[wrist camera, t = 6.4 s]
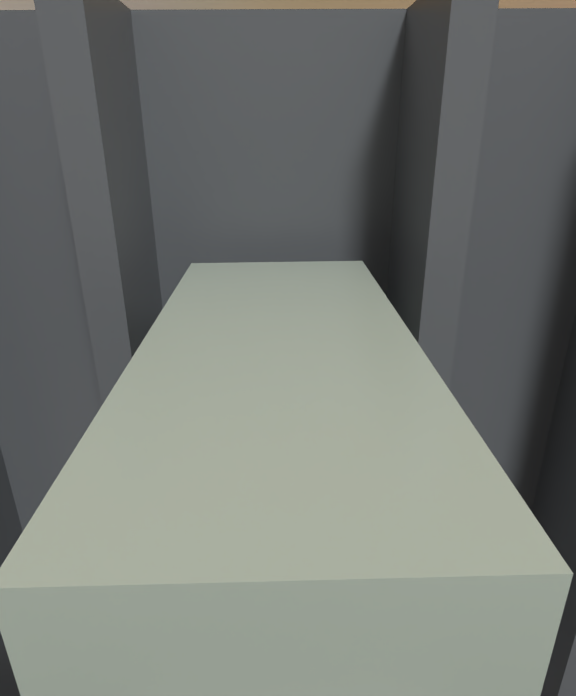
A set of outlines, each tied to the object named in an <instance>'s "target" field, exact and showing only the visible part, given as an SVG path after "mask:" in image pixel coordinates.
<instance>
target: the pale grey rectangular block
mask: <svg viewBox="0 0 576 696" xmlns="http://www.w3.org/2000/svg"><path fill="white" fill-rule="evenodd" d="M572 577H573V572H572V571H571V569H570V568H569V566H568V565H567V564H566V562H565V561H564V559H563V558H562V556H561V555H560V553H559V552H558V550H557V549H556V547H555V546H554V544H553V543H552V541H551V540H550V538H549V537H548V535H547V534H546V532H545V531H544V529H543V528H542V526H541V525H540V523H539V522H538V521H537V519H536V518H535V516H534V515H533V513H532V512H531V510H530V509H529V507H528V506H527V504H526V503H525V501H524V500H523V498H522V497H521V495H520V494H519V492H518V491H517V489H516V488H515V486H514V485H513V483H512V482H511V480H510V479H509V478H508V476H507V475H506V473H505V472H504V470H503V469H502V467H501V466H500V464H499V463H498V461H497V460H496V458H495V457H494V455H493V454H492V452H491V451H490V449H489V448H488V446H487V445H486V443H485V442H484V440H483V439H482V437H481V436H480V435H479V433H478V432H477V430H476V429H475V427H474V426H473V424H472V423H471V421H470V420H469V418H468V417H467V415H466V414H465V412H464V411H463V409H462V408H461V406H460V405H459V403H458V402H457V400H456V399H455V397H454V396H453V394H452V393H451V392H450V390H449V389H448V387H447V386H446V384H445V383H444V381H443V380H442V378H441V377H440V375H439V374H438V372H437V371H436V369H435V368H434V366H433V365H432V363H431V362H430V360H429V359H428V357H427V356H426V354H425V353H424V351H423V350H422V349H421V347H420V346H419V344H418V343H417V341H416V340H415V338H414V337H413V335H412V334H411V332H410V331H409V329H408V328H407V326H406V325H405V323H404V322H403V320H402V319H401V317H400V316H399V314H398V313H397V311H396V310H395V308H394V307H393V306H392V304H391V303H390V301H389V300H388V298H387V297H386V295H385V294H384V292H383V291H382V289H381V288H380V286H379V285H378V283H377V282H376V280H375V279H374V277H373V276H372V274H371V273H370V271H369V270H368V268H367V267H366V265H365V264H364V263H363V261H311V262H239V263H191V265H190V266H189V268H188V269H187V271H186V273H185V274H184V276H183V277H182V279H181V281H180V282H179V284H178V285H177V287H176V289H175V290H174V292H173V293H172V295H171V296H170V298H169V300H168V301H167V303H166V304H165V306H164V308H163V309H162V311H161V312H160V314H159V316H158V317H157V319H156V320H155V322H154V324H153V325H152V327H151V328H150V330H149V331H148V333H147V335H146V336H145V338H144V339H143V341H142V343H141V344H140V346H139V347H138V349H137V351H136V352H135V354H134V355H133V357H132V359H131V360H130V362H129V363H128V365H127V367H126V368H125V370H124V371H123V373H122V374H121V376H120V378H119V379H118V381H117V382H116V384H115V386H114V387H113V389H112V390H111V392H110V394H109V395H108V397H107V398H106V400H105V402H104V403H103V405H102V406H101V408H100V410H99V411H98V413H97V414H96V416H95V417H94V419H93V421H92V422H91V424H90V425H89V427H88V429H87V430H86V432H85V433H84V435H83V437H82V438H81V440H80V441H79V443H78V445H77V446H76V448H75V449H74V451H73V453H72V454H71V456H70V457H69V459H68V460H67V462H66V464H65V465H64V467H63V468H62V470H61V472H60V473H59V475H58V476H57V478H56V480H55V481H54V483H53V484H52V486H51V488H50V489H49V491H48V492H47V494H46V495H45V497H44V499H43V500H42V502H41V503H40V505H39V507H38V508H37V510H36V511H35V513H34V515H33V516H32V518H31V519H30V521H29V523H28V524H27V526H26V527H25V529H24V531H23V532H22V534H21V535H20V537H19V538H18V540H17V542H16V543H15V545H14V546H13V548H12V550H11V551H10V553H9V554H8V556H7V558H6V559H5V561H4V562H3V564H2V566H1V567H0V632H1V635H2V638H3V641H4V645H5V648H6V651H7V654H8V657H9V661H10V664H11V667H12V670H13V673H14V676H15V680H16V683H17V686H18V689H19V692H20V696H540V695H541V692H542V688H543V684H544V681H545V677H546V673H547V669H548V666H549V662H550V658H551V655H552V651H553V647H554V644H555V640H556V636H557V632H558V629H559V625H560V621H561V618H562V614H563V610H564V607H565V603H566V599H567V595H568V592H569V588H570V584H571V581H572Z"/></svg>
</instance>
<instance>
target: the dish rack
mask: <svg viewBox="0 0 576 696" xmlns="http://www.w3.org/2000/svg"><path fill="white" fill-rule="evenodd" d="M34 3H35V9H36V10H0V567H1V566H2V564H3V562H4V561H5V559H6V558H7V556H8V554H9V553H10V551H11V550H12V548H13V546H14V545H15V543H16V542H17V540H18V538H19V537H20V535H21V534H22V532H23V531H24V529H25V527H26V526H27V524H28V523H29V521H30V519H31V518H32V516H33V515H34V513H35V511H36V510H37V508H38V507H39V505H40V503H41V502H42V500H43V499H44V497H45V495H46V494H47V492H48V491H49V489H50V488H51V486H52V484H53V483H54V481H55V480H56V478H57V476H58V475H59V473H60V472H61V470H62V468H63V467H64V465H65V464H66V462H67V460H68V459H69V457H70V456H71V454H72V453H73V451H74V449H75V448H76V446H77V445H78V443H79V441H80V440H81V438H82V437H83V435H84V433H85V432H86V430H87V429H88V427H89V425H90V424H91V422H92V421H93V419H94V417H95V416H96V414H97V413H98V411H99V410H100V408H101V406H102V405H103V403H104V402H105V400H106V398H107V397H108V395H109V394H110V392H111V390H112V389H113V387H114V386H115V384H116V382H117V381H118V379H119V378H120V376H121V374H122V373H123V371H124V370H125V368H126V367H127V365H128V363H129V362H130V360H131V359H132V357H133V355H134V354H135V352H136V351H137V349H138V347H139V346H140V344H141V343H142V341H143V339H144V338H145V336H146V335H147V333H148V331H149V330H150V328H151V327H152V325H153V324H154V322H155V320H156V319H157V317H158V316H159V314H160V312H161V311H162V309H163V308H164V306H165V304H166V303H167V301H168V300H169V298H170V296H171V295H172V293H173V292H174V290H175V289H176V287H177V285H178V284H179V282H180V281H181V279H182V277H183V276H184V274H185V273H186V271H187V269H188V268H189V266H190V265H191V263H239V262H311V261H363V263H364V264H365V265H366V267H367V268H368V270H369V271H370V273H371V274H372V276H373V277H374V279H375V280H376V282H377V283H378V285H379V286H380V288H381V289H382V291H383V292H384V294H385V295H386V297H387V298H388V300H389V301H390V303H391V304H392V306H393V307H394V308H395V310H396V311H397V313H398V314H399V316H400V317H401V319H402V320H403V322H404V323H405V325H406V326H407V328H408V329H409V331H410V332H411V334H412V335H413V337H414V338H415V340H416V341H417V343H418V344H419V346H420V347H421V349H422V350H423V351H424V353H425V354H426V356H427V357H428V359H429V360H430V362H431V363H432V365H433V366H434V368H435V369H436V371H437V372H438V374H439V375H440V377H441V378H442V380H443V381H444V383H445V384H446V386H447V387H448V389H449V390H450V392H451V393H452V394H453V396H454V397H455V399H456V400H457V402H458V403H459V405H460V406H461V408H462V409H463V411H464V412H465V414H466V415H467V417H468V418H469V420H470V421H471V423H472V424H473V426H474V427H475V429H476V430H477V432H478V433H479V435H480V436H481V437H482V439H483V440H484V442H485V443H486V445H487V446H488V448H489V449H490V451H491V452H492V454H493V455H494V457H495V458H496V460H497V461H498V463H499V464H500V466H501V467H502V469H503V470H504V472H505V473H506V475H507V476H508V478H509V479H510V480H511V482H512V483H513V485H514V486H515V488H516V489H517V491H518V492H519V494H520V495H521V497H522V498H523V500H524V501H525V503H526V504H527V506H528V507H529V509H530V510H531V512H532V513H533V515H534V516H535V518H536V519H537V521H538V522H539V523H540V525H541V526H542V528H543V529H544V531H545V532H546V534H547V535H548V537H549V538H550V540H551V541H552V543H553V544H554V546H555V547H556V549H557V550H558V552H559V553H560V555H561V556H562V558H563V559H564V561H565V562H566V564H567V565H568V566H569V568H570V569H571V571H572V572H573V577H572V581H571V584H570V588H569V592H568V595H567V599H566V603H565V607H564V610H563V614H562V618H561V621H560V625H559V629H558V632H557V636H556V640H555V644H554V647H553V651H552V655H551V658H550V662H549V666H548V669H547V673H546V677H545V681H544V684H543V688H542V692H541V695H540V696H576V8H527V9H498V4H499V0H416V1H415V2H414V3H413V4H412V5H411V6H410V7H409V8H407V9H236V10H130V9H129V8H128V7H127V6H125V5H124V4H123V3H122V2H120V1H119V0H34ZM0 696H20V692H19V689H18V686H17V683H16V680H15V676H14V673H13V670H12V667H11V664H10V661H9V657H8V654H7V651H6V648H5V645H4V641H3V638H2V635H1V632H0Z"/></svg>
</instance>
